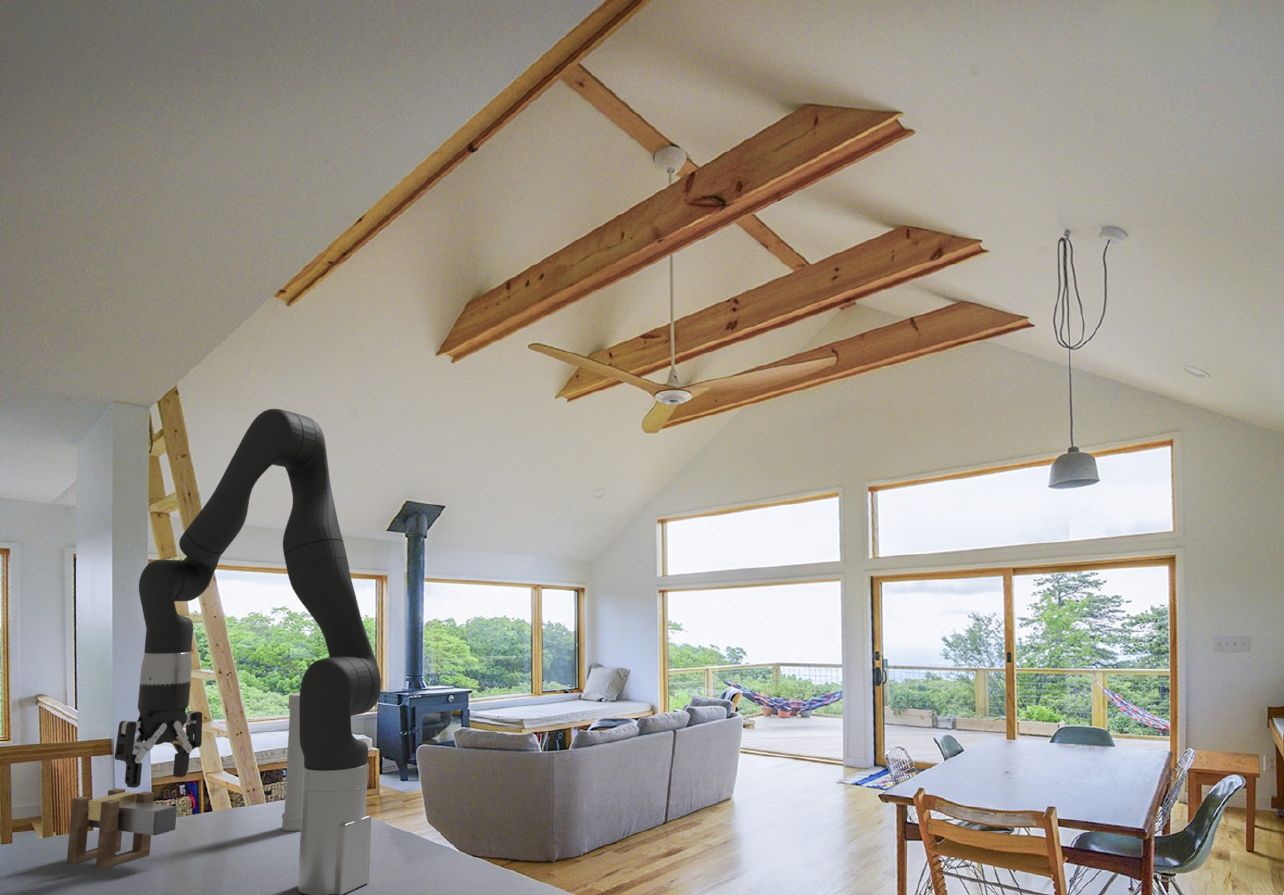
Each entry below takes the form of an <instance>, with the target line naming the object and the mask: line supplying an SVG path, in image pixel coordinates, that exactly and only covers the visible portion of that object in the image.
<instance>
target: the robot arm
mask: <svg viewBox="0 0 1284 895" xmlns="http://www.w3.org/2000/svg"><path fill="white" fill-rule="evenodd" d="M326 445H327V444H326V440H325V435H324V433H323V429H322V427H321V426H320V424H319V423H318V422H317V421H315V420H314V419H313V418H311V417H308V416H305V415H303V414H299V413H295V412H292V411H289V410H285V409H281V408H280V409H279V408H269V409H266V410H263V411H262V412H261V413H260V414H258V415H257V416H256V417H255V419H253V421H252V422H251V424H250V425H249V427H248V428H247V430H246V432H245V433H244V436H243V437H242V439H241V441H240V443H239V445H238V447H237V449H236V450H235V452H234V454H233V456H232V457H231V459H230V461H229V463H228V466H226V467H227V468H226V469H225V471H224V473H223V474H222V477H221V478H220V481H219V483H218V484H217V486H216V487H215V490H214V491H213V493H212V494H211V495H210V498H209V499H208V501H206V503H205V505H204V506H203V508H202V509H201V510H200V511H199V512H198V514H197V515H196V516H195V518H194V519H193V520H192V521H191V523H189V525H188V526H187V528H186V530H184V532H183V533H182V535H181V537H180V538H179V544H178V545H179V548H180V550H181V552H182V554H184V555H185V556H186V557H185V558H184V559H155V560H152V561H150V562H149V563H148V564H147V565H146V566H145V567H144V568H143V570H142V572H141V573H140V577H139V579H138V580H139V581H138V594H139V600H140V604H141V608H142V614H143V620H144V622H145V628H146V629H145V630H146V632H145V641H144V654H143V658H142V663H141V666H140V667H141V668H140V674H139V675H140V677H139V678H140V679H139V688H138V700H137V710H138V713H139V716H138V718H137V720H135V721H134V720H133V721H130V720H121V721H119V724H118V730H117V736H116V742H115V743H116V745H115V752H114V760H116V761H122V762H124V763H125V775H124V783H125V785H126V787H127V788H132V789H136V788H139V787H140V786H141V782H142V781H141V780H142V770H143V762H142V761H143V759H144V758H145V756H146V754H147V753H148V752H149V751H151V750H152V749H153V748H154V746H158V745H162V744H163V743H168V744H171V745H172V747H173V748H174V750H175V751H176V753H174V761H173V771H172V772H173V774H172V775H173V777H175V778H185V777H186V775H187V773H188V772H189V766H190V754H191V752H192V751H193V750H194V749H196V748H200V747H201V746H202V742H203V741H202V740H203V739H202V738H203V712H202V711H198V710H195V711H194V710H189V711H187V712H186V709H187V708H188V707H189V705H190V693H191V682H192V679H191V678H192V670H193V661H192V659H193V658H192V650H193V649H192V646H193V636H194V623H193V621H192V619H191V618H189V617H187V616H184V615H180V614H178V611H177V607H176V602H191V601H193V600H195V599H197V598H199V597H200V596H201V595H203V594H204V593H205V591H206V590H207V589H208V587H209V585H210V583H211V582H212V578H213V576H214V574H215V571H216V569H217V567H218V565H219V561H220V558H221V556H222V555H223V554H224V552H225V551H226V550H227V548H228V547H230V545H231V544H232V542H233V541H234V540H235V538H236V537H237V536H238V535H239V533H240V531H241V530H242V528H243V527H244V524H245V522H246V521H247V520H246V519H247V516H248V510H249V504H250V503H249V502H250V498H251V494H252V492H253V489H254V486H255V485H256V483H257V482H258V480H259V479H260V477H261V476H262V475H263V474H265V473H266V471H267V470H268V469H269V468H270V467H272V466H278V467H283V468H285V470H286V472H287V475H288V479H289V482H290V483H289V484H290V488H291V494H292V506H291V511H290V514H289V517H288V520H287V523H286V526H285V529H284V533H283V536H282V551H283V557H284V562H285V567H286V571H287V575H288V576H287V577H288V580H289V582H290V586H291V588H292V590H293V592H294V593H295V595H296V597H297V598H298V599H299V601H300V602H301V604H302V605H303V606H304V607H305V609H306V610H307V611H308V613H309V614H310V615H311V617H312V618H313V620H314V621H315V622H316V623H317V626H318V627H319V629H320V630H321V633H322V635H323V638H324V640H325V644H326V647H327V652H328V657H325V658H321V659H318V660H316V661H314V662H313V663H311V664H310V665H309V666H308V667H307V669H306V670H305V672H304V675H303V676H302V681H301V682H300V683H301V684H300V688H299V693H300V701H299V725H300V734H299V736H300V746H301V749H302V752H303V755H304V774H303V793H302V813H301V830H300V833H299V835H300V837H299V854H298V855H299V857H298V880H297V882H298V884H297V890H298V892H299V893H302V894H304V895H345V894H347V893H349V892H351V891H353V890H355V889H357V888H359V887H362V886H364V885H366V884H368V883H370V867H371V866H370V865H371V862H370V861H371V839H372V838H371V836H372V816H371V815H369V814H367V799H368V798H367V794H368V793H367V791H368V773H369V772H368V770H369V768H368V767H369V746H368V744H367V743H366V742H365V741H364V740H361V739H360V740H359V739H357V738H355V736H354V735H353V732H352V717H355V716H358V715H362V714H365V713H367V712H369V711H371V710H373V708H374V707H375V706H376V704H377V703H378V701H379V697H380V696H381V695H380V694H381V691H382V690H381V688H382V680H381V678H382V677H381V673H380V670H379V665H378V663H377V658H376V657H375V654H374V651H373V647H372V645H371V642H370V639H369V637H368V634H367V632H366V631H367V630H366V628H365V625H364V622H363V619H362V615H361V612H360V608H359V604H358V600H357V595H356V592H355V589H354V584H353V580H352V577H351V572H350V566H349V565H350V564H349V561H348V557H347V551H346V548H345V544H344V539H343V536H342V532H341V528H340V526H339V525H340V524H339V521H338V515H337V510H336V506H335V501H334V497H333V496H334V495H333V492H332V487H331V480H330V471H329V464H328V462H329V461H328V454H327V446H326ZM184 727H185V730H184ZM136 735H137V736H136Z"/></svg>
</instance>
